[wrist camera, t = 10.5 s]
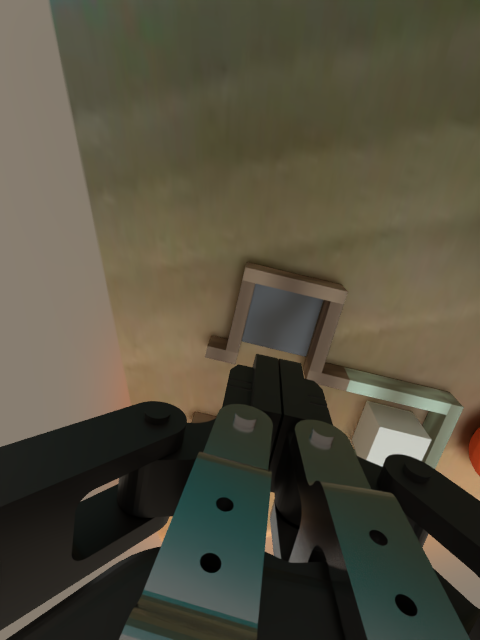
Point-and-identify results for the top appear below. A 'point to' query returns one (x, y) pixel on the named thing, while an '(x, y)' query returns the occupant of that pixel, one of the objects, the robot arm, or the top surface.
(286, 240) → the top surface
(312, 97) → the top surface
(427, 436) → the cream block
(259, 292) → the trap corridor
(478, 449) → the clementine
